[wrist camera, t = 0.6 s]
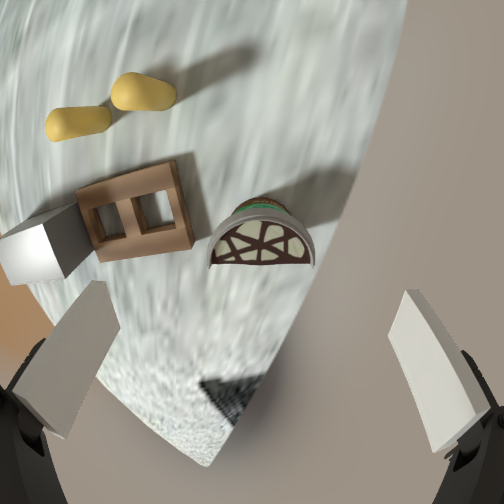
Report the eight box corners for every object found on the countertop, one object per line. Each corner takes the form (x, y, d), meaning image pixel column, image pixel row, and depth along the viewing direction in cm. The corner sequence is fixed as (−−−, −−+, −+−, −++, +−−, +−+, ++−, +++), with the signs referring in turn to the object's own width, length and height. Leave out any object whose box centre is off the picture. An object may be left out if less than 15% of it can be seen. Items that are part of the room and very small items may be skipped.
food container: (307, 189, 35) (323, 214, 26) (305, 232, 38) (318, 268, 29) (214, 189, 36) (197, 215, 27) (217, 232, 38) (203, 269, 29)
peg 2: (146, 87, 29) (108, 80, 20) (173, 78, 29) (143, 66, 20) (150, 114, 31) (114, 115, 22) (179, 106, 30) (149, 103, 21)
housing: (25, 220, 38) (-8, 242, 29) (81, 199, 36) (42, 223, 27) (40, 258, 42) (11, 285, 33) (97, 246, 40) (65, 278, 31)
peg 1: (87, 111, 30) (43, 116, 21) (108, 102, 30) (65, 102, 21) (92, 136, 32) (48, 146, 23) (113, 127, 31) (71, 134, 22)
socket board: (83, 187, 35) (74, 191, 33) (175, 160, 34) (169, 163, 31) (107, 255, 41) (100, 262, 38) (195, 241, 39) (191, 249, 37)
